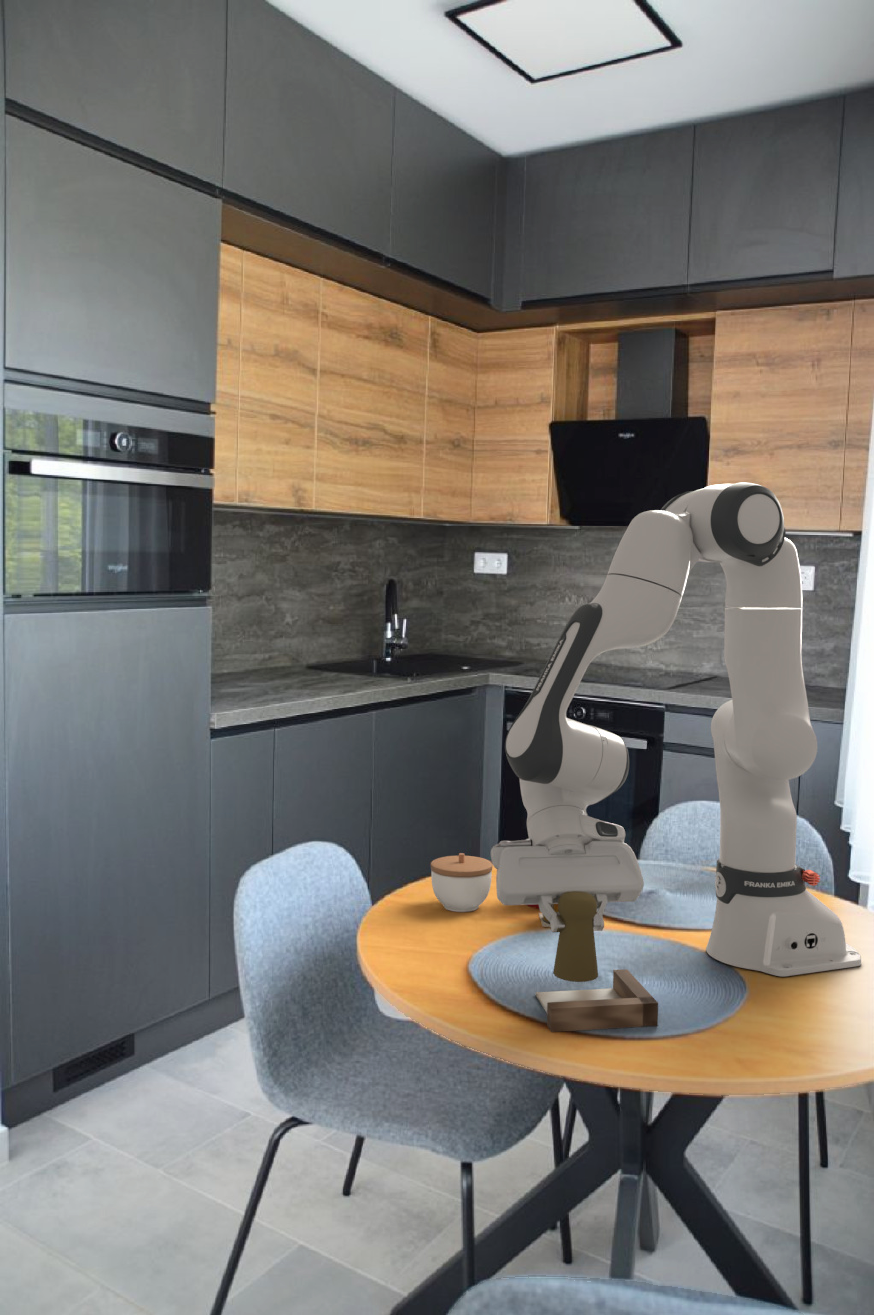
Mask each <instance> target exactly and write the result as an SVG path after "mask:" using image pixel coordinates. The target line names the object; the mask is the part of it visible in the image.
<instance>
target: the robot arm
mask: <svg viewBox="0 0 874 1315" xmlns="http://www.w3.org/2000/svg"><path fill="white" fill-rule="evenodd" d="M786 533H787V532H786V527H785V517H784V512H783V509H782V505H781V503H780V501H779V500H778V498H777V496H776V495H775V493H773V491H772V490H770V489H769V488H767V487H765V486H763V485H760V484H757V483H752V482H745V481H743V482H736V483H721V484H713V485H708V486H705V487H704V488H700V489H696V490H694V491H693V490H690V491H685V492H682V493H680V494H677V495H676V496H674V497H672V498H671V499H670V500H668V501H667V502H666V503H665V504H664V505H663V506H662V507H661V509H660V510H659V509H654V510H653V509H652V510H647V511H643V512H640V513H638V514H637V515H636V516H634V518H632V519H631V521H630V523H629V525H628V526H627V528H626V530H625V532H624V534H623V536H622V537H621V539H620V541H619V544H618V546H617V548H616V550H615V553H614V555H613V558H612V560H611V563H610V566H609V568H608V572H607V574H606V577H605V580H604V583H603V585H602V586H601V588H600V590H599V592H598V593H597V594H596V596H595V597H594V598H593V599H592V601H591V602H589V603H586V604H582V605H581V606H580V607H578V608H577V609H576V610H575V611H574V612H573V614H572V615H571V616H570V618H569V620H568V621H567V623H566V625H565V627H564V628H563V630H562V632H561V634H560V636H559V638H558V639H557V642H556V644H555V646H554V648H553V649H552V652H551V654H550V655H549V657H548V659H547V662H546V664H545V666H544V668H543V669H542V671H541V674H540V676H539V677H538V679H537V682H536V683H535V686H534V688H533V690H532V692H531V694H530V695H529V697H528V699H527V702H526V703H525V705H524V706H523V708H522V709H521V710H520V712H519V714H518V715H516V718H515V719H514V720H513V722H512V724H511V726H510V727H509V729H508V731H507V733H506V738H505V742H504V752H505V755H506V756H505V757H506V759H507V762H508V763H509V766H510V768H511V769H512V771H513V773H514V774H515V776H516V777H518V779H519V787H520V795H521V799H522V800H521V801H522V803H523V806H524V808H525V809H526V810H525V811H526V812H527V818H526V829H527V835H528V839H529V840H526V839H521V840H519V839H518V840H501V841H499V843H497V844H495V845H494V846H492V848H491V849H490V858H491V859H490V861H491V863H492V867H494V868H495V869H496V874H495V875H496V876H495V878H496V879H495V882H496V885H495V886H496V898H497V900H498V901H499V902H500V903H501V904H502V905H504V906H524V905H525V906H527V905H534V904H539V913H541V914H543V915H544V916H545V917H546V919H547V920H548V921H550V925H551V927H550V929H551V930H550V931H551V932H552V933H560V932H562V931H563V930H564V929H565V923H564V922H563V920H564V919H563V918H562V916H561V915H557V914H556V913H555V911H554V910H553V909H552V907H551V904H558V902H559V898H560V897H561V895H562V894H564V893H566V892H571V891H581V892H586V893H589V894H591V895H593V896H594V898H595V899H596V902H597V911H596V915H595V916H594V918H593V930H594V932H602V931H603V930H604V928H605V920H604V915H603V914H604V912H605V909H606V907H607V904H608V903H622V902H623V903H629V902H631V903H632V902H635V901H637V899H638V898H639V897H640V896H641V894H642V891H643V889H644V885H645V881H644V876H643V874H642V870H641V867H640V865H639V861H638V859H637V856H636V854H635V852H634V851H633V849H632V847H631V846H630V845H629V844H627V843H625V838H626V831H625V829H624V827H623V826H621V825H619V824H616V823H611V822H608V821H604V820H600V819H598V818H594V817H592V816H589V815H588V812H587V808H588V807H589V806H592V805H595V804H598V803H601V802H602V801H603V800H605V799H606V798H608V797H609V796H611V795H613V794H615V793H616V792H618V790H619V789H620V788H621V787H622V786H623V785H624V783H625V782H626V780H627V778H628V775H629V770H630V755H629V750H628V747H627V745H626V743H625V741H624V739H623V738H622V737H621V736H620V735H617V734H615V733H613V732H611V731H608V730H605V729H602V728H600V727H597V726H594V725H592V724H591V725H590V724H586V723H584V722H583V723H582V722H580V721H577V720H574V719H571V718H568V717H567V711H568V708H569V706H570V704H571V702H572V700H573V698H574V695H575V694H576V691H577V690H578V688H579V686H580V684H581V682H582V679H583V677H584V675H585V673H586V671H587V669H588V667H589V665H590V664H591V663H592V662H593V660H594V659H596V657H598V656H600V655H601V654H602V653H606V652H609V651H613V650H624V649H634V648H635V649H636V648H641V647H645V646H648V645H651V644H653V643H655V642H657V641H658V640H660V639H661V638H663V637H664V636H665V635H666V634H667V633H668V632H669V631H670V629H671V627H672V625H673V624H674V622H675V620H676V618H677V614H678V612H679V609H680V606H681V602H682V599H683V596H684V592H685V589H686V585H687V580H688V577H689V575H690V572H691V571H692V569H693V567H694V566H695V565H696V564H697V563H698V562H702V563H703V562H704V563H719V565H720V566H721V569H722V571H723V573H724V577H725V581H726V582H725V583H726V584H725V585H726V586H725V596H724V597H725V598H724V600H725V602H724V637H723V638H724V641H723V642H724V643H723V644H724V645H723V646H724V648H723V649H724V650H723V654H724V655H723V659H724V664H725V666H726V670H727V676H728V681H729V687H730V693H731V699H730V700H728V701H725V702H724V703H723V704H721V705H720V706H719V707H718V708H717V709H716V711H715V712H714V715H713V716H712V719H711V722H710V723H711V724H710V733H711V734H710V735H711V737H712V741H713V751H714V763H715V775H716V782H717V791H718V797H719V810H720V811H719V814H720V819H719V820H720V822H719V823H720V826H719V858H718V859H717V860H716V866H715V879H714V882H715V883H714V884H715V896H716V905H715V911H714V916H713V917H714V918H713V922H712V923H713V924H712V928H711V931H710V934H709V938H708V941H707V944H706V947H705V951H706V953H707V954H708V955H709V956H710V957H712V958H713V959H714V960H717V961H719V962H721V963H724V964H727V965H730V966H733V967H736V968H742V969H747V970H752V971H759V972H763V973H765V974H768V975H772V976H777V977H790V976H797V975H804V974H805V975H806V974H811V973H818V972H825V971H833V970H839V969H846V968H853V967H859V966H861V965H862V957H861V954H860V953H859V951H858V950H857V949H856V948H854V946H851V945H850V944H849V943H847V942H846V935H845V934H846V933H845V929H844V926H843V922H842V920H841V919H840V917H839V916H838V915H837V914H836V913H835V911H833V910H832V909H830V908H829V907H828V906H827V905H826V904H825V903H823V902H822V901H821V900H819V898H818V897H816V895H814V894H813V893H811V892H810V891H808V889H807V887H806V883H807V884H808V885H809V886H812V887H815V886H818V885H819V884H818V883H820V880H821V878H820V877H821V876H820V875H819V873H817V872H815V871H813V870H811V869H805V868H803V867H801V866H799V865H798V864H796V857H797V856H796V855H797V854H796V853H797V827H798V826H797V824H798V820H797V819H798V817H797V811H796V808H795V806H794V802H793V799H792V793H791V788H790V787H791V786H790V780H793V779H796V778H798V777H800V776H802V775H804V774H805V773H806V772H807V771H808V770H809V769H810V768H811V767H812V766H813V764H814V761H815V760H816V757H817V753H818V740H817V736H816V732H815V731H814V728H813V725H812V723H811V719H810V718H811V716H810V711H809V701H808V697H807V689H806V683H805V678H804V670H803V661H802V658H803V657H802V646H803V645H802V643H803V642H802V641H803V640H802V636H803V635H802V632H803V585H802V576H801V575H802V574H801V568H800V560H799V557H798V550H797V548H796V545H795V544H794V543H793V542H792V541H791V539H788V538H787V537H786Z"/></svg>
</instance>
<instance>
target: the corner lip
mask: <svg viewBox="0 0 874 1315" xmlns="http://www.w3.org/2000/svg"><path fill="white" fill-rule="evenodd" d="M612 970H613V972H612V988H610V987H609V988H596V989H594V988H593V989H577V990H576V989H575V990H574V989H573V990H557V991H556V990H555V991H536V992H535V996H536V999H537V1000H538V1002H539V1003H540V1005H541V1007H542V1008H543V1009H544V1011H545V1013H546V1025H547V1027H548V1029H549V1031H550V1032H551V1033H556V1032H557V1033H558V1032H572V1031H573V1032H574V1031H589V1030H590V1031H591V1030H592V1031H593V1030H606V1029H608V1030H609V1029H624V1028H625V1029H626V1028H639V1027H641V1028H642V1027H657V1026H659V1025H658V1024H659V1023H658V1022H659V1002H658V1001H657V1000H656V999H655V998H654V997H653V996H652V995H651V993H650V992H649V991H648V990H647V989H646V988H645V987H644V986H643V985H642V984H641V982H639V980H638V979H637V978H636V977H635V976H634V975H633V974H632V972H631V971H629V969H628V968H626V969H612Z"/></svg>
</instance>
